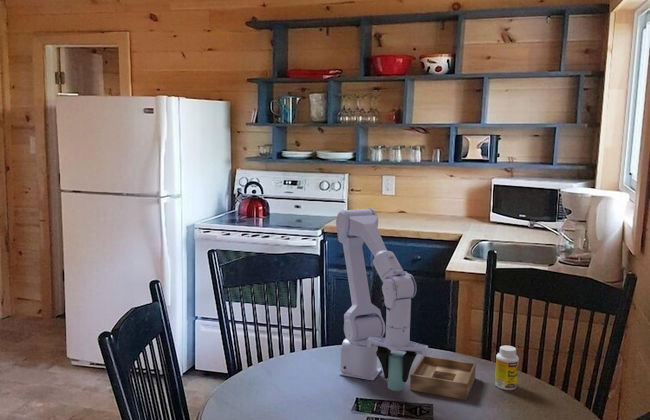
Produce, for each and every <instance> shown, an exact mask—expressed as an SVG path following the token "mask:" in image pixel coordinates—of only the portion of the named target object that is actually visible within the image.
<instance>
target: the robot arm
mask: <svg viewBox="0 0 650 420" xmlns="http://www.w3.org/2000/svg"><path fill="white" fill-rule="evenodd" d="M335 226H336V233H337V238H338V239H337V240H338V242H339V243H341V244H342V248H343V254H344V260H345V266H346V273H347V280H348V281H347V282H348V285H349V294H350V299H351V306H350V307H349V309H347V311H346V312H345V313H344V314H343V322H344V324H343V332H344V336H345V338H344V339H343V341H342V344H341V347H340V372H339V375H340V376H344V377H350V378H355V379H356V378H357V379H363V380H366V381H367V380H368V381H374V380H375V379H376V378H377V377H378V376H379V374H380V373H381V371H382V372H383V377H384V379H386V380H388V357H389V354H390V353H392V351H394V352H398V351H399V352H404V353H403V354H404V355H403V364H404V372H403V382H404V383H407V381H408V379H409V376H410V371H411V369H412V365H413V363H414V361H415V359H416V357H417V355H421V357H423V356H428V354H429V345H426V344H423V343H422V344H421V343H418V342H414V341H411V340H410V338H411V336H410V333H411V331H410V330H411V307H412V299H413V298H415V296H416V294H417V282H416V280H415V277H414V276H413V274H410V273H408V271H406V270H405V271H404V269H403V267H402V266H401V264H400V262H399V261H398V258H397V257H396V255H395V253H394V251H391V250H388V249H387V247H386V245H385V243H384V241H383V238H382V236H381V234H380V231H379V229H378V227H379V217H378V215H377V212H376V210H375V209H374V208H371V207H369V208H362V209H340V210H339V212H338V213H337V216H336V220H335ZM364 244H365V245H366V247H368V249H369V251H370V253H371V254H372V256H373V257H374V258H373V260H372V264H373V266H374V268H375V270H376V273H377V275H378V276H379V278H380V280H381V282H382V285H381V290H382V294H383V299H384V300H383V302H384V306H385V307H386V308H385V309H386V313H385V314H386V316H385V321H384V319H383V317H382V312H381V309H380V308H378V306H376V305H374V304H373V303H372V301H371V295H370V287H369V281H368V276H367V275H368V274H367V269H366V263H365V256H364V250H363V245H364ZM364 315H366V316H364ZM384 335H385V337H384ZM378 360H379V362H380V364H381V367H378Z"/></svg>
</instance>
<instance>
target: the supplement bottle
mask: <svg viewBox="0 0 650 420" xmlns="http://www.w3.org/2000/svg"><path fill="white" fill-rule="evenodd" d="M495 356H496V357H495V370H494V371H495V372H494V385H495V387H497V388H499V389H500V390H504V391H513V390H515V389H517V387H518V380H519V379H518V377H519V376H518V375H519V365H520V363H519V362H520V358H519V356H518V354H517V349H516V347H514V346H512V345H501V346H500V347H499V352H497V354H496V355H495Z"/></svg>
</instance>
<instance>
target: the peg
mask: <svg viewBox="0 0 650 420" xmlns="http://www.w3.org/2000/svg"><path fill="white" fill-rule="evenodd" d="M404 354H405V353H401V352H391V353H390V354H389V357H388V378H387V388H388V390H391V391H393V392H401V391H403V390H404V389H405V382H403V372H404V364H403V355H404Z"/></svg>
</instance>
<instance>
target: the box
mask: <svg viewBox="0 0 650 420" xmlns="http://www.w3.org/2000/svg"><path fill="white" fill-rule="evenodd" d="M476 369H477V365H476V363H474V362H469V361H462V360H457V359H456V360H455V359H450V358H449V359H448V358H443V357H442V358H441V357H436V356H430V355H426V356H421V358H420V359H419V361H418V362H417V364H416V366H414V368H413V370H412V372H411V373H410V374H409V376H410V380H409V381H410V382H409V383H410V384H409V390H410V391H414V392H420V393H421V392H422V393H425V394H426V393H427V394H431V395H438V396H443V397H449V398H454V399H458V400H459V399H460V400H464V401H466V400H468V397H469V395H470V392H471V389H472V387H473V385H474V382H475V380H476V372H477V371H476Z"/></svg>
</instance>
